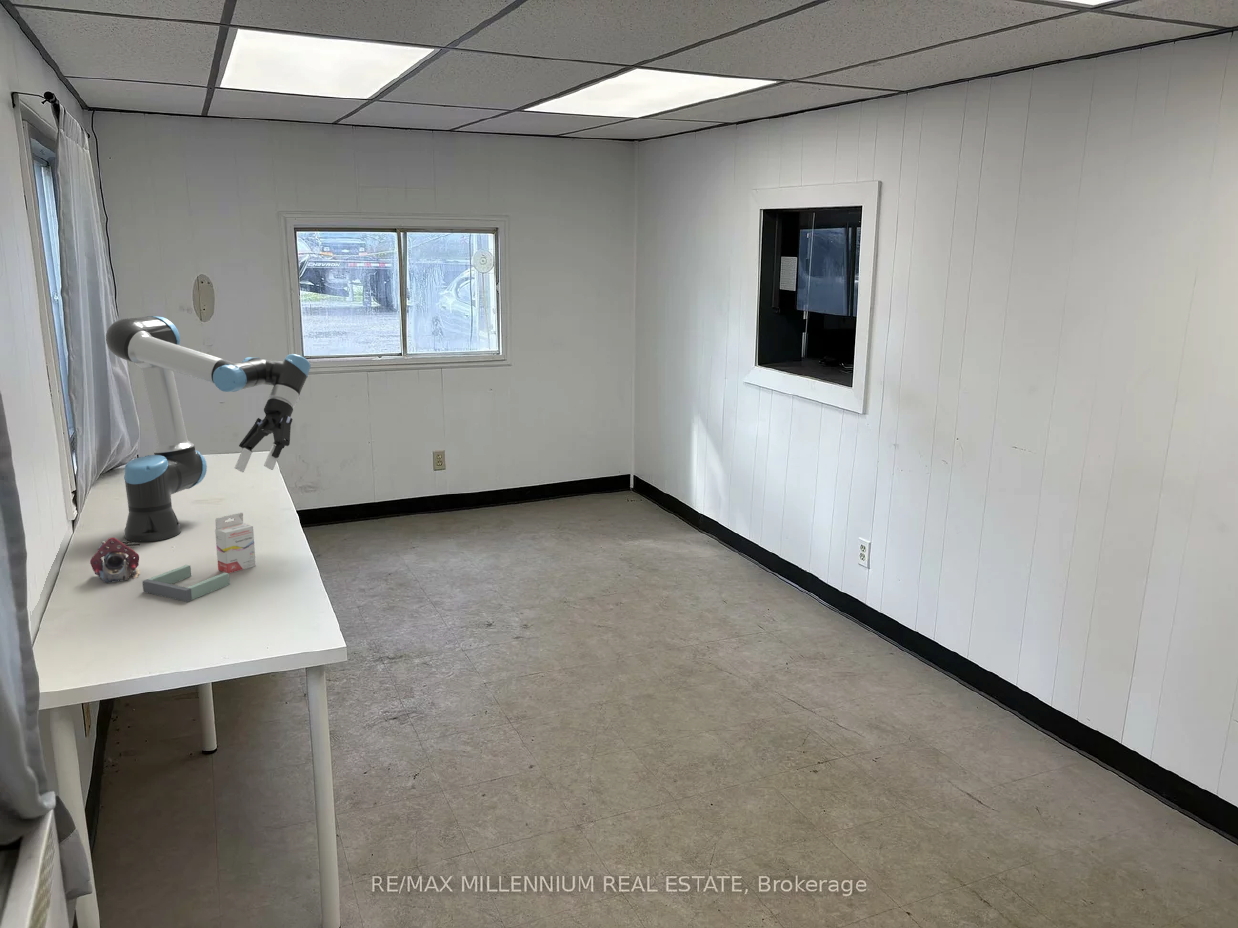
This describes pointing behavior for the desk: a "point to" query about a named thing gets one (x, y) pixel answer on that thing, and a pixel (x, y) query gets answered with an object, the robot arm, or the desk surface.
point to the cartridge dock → (164, 586)
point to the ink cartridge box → (234, 544)
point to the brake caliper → (115, 561)
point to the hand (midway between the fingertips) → (253, 469)
